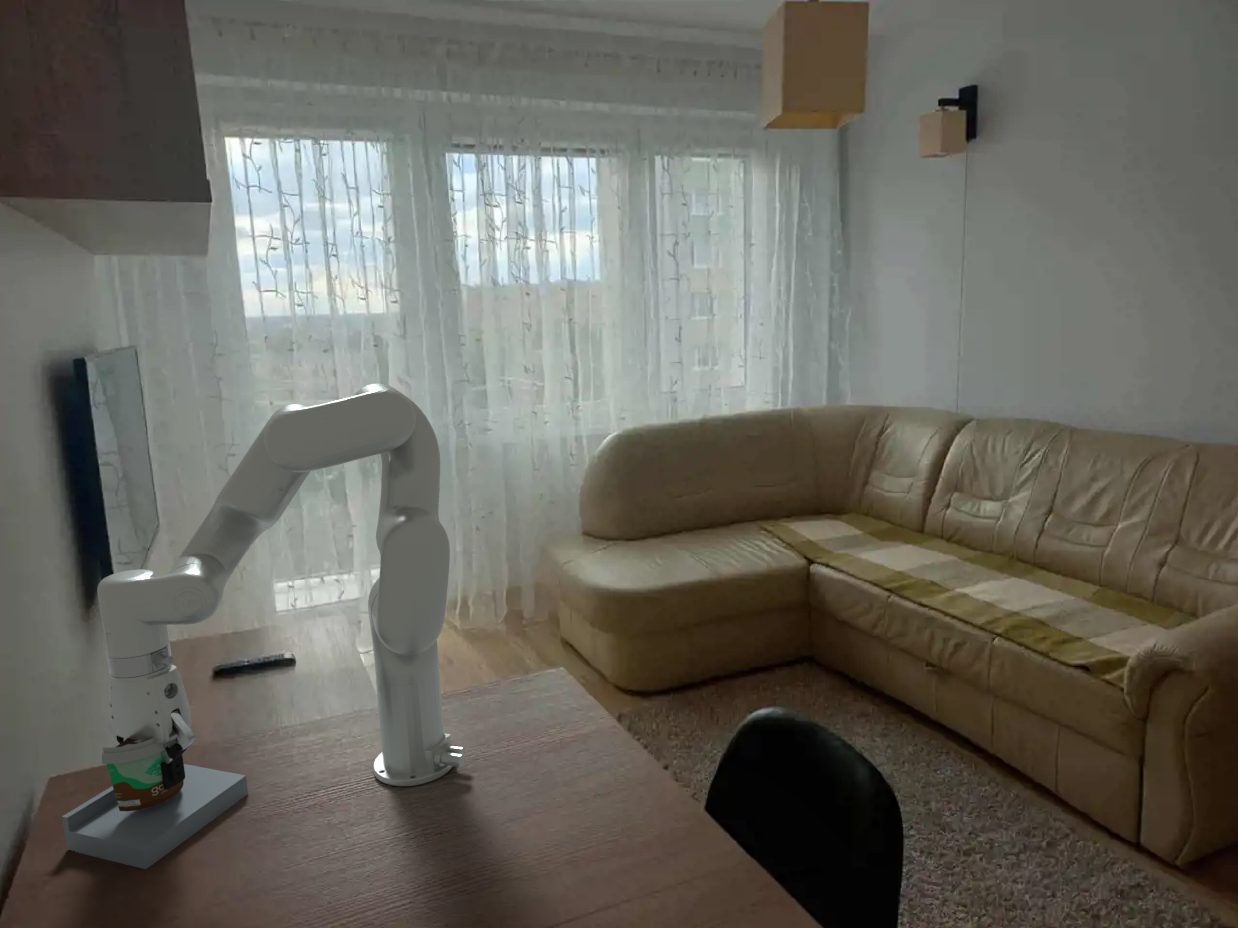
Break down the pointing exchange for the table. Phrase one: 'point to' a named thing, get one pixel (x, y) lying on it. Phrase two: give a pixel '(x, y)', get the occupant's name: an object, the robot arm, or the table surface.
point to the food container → (138, 773)
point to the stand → (151, 819)
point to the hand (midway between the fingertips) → (158, 779)
